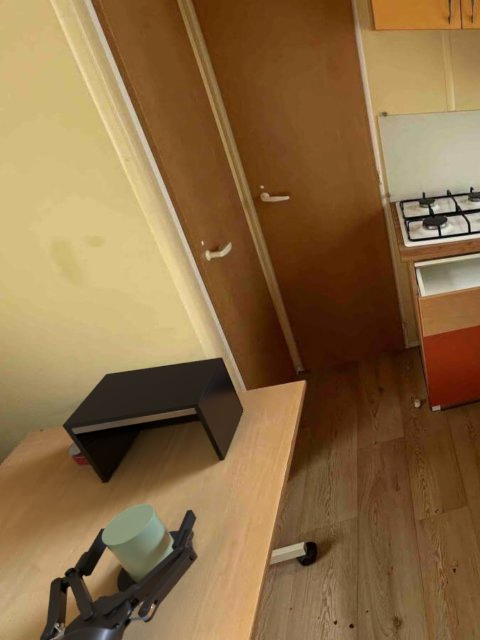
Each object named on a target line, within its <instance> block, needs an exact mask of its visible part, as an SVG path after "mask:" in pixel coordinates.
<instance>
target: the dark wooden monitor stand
mask: <svg viewBox="0 0 480 640" xmlns="http://www.w3.org/2000/svg"><path fill="white" fill-rule="evenodd" d="M243 410H244V407H243V405H242V402H241V399H240V397H239V394H238V392H237V390H236V387H235V385H234V383H233V380H232V378H231V375H230V372H229V371H228V368H227V366H226V363H225V360H224V358H223V357H222V356H221V357H214V358H207V359H199V360H193V361H187V362H179V363H172V364H165V365H159V366H152V367H151V366H150V367H145V368H139V369H138V368H137V369H132V370H130V369H129V370H125V371H118V372H110V373H106V374H105V375H104V376H103V377H102V378H101V379H100V381H99V382H98V383H97V384H96V385H95V387H94V388H93V389H92V390H90V392H89V393H88V395H87V396H86V397H85V398H84V399H83V401H82V402H80V404H79V406H77V407H76V409H75V410H74V411H73V412H72V413H71V415H70V416H69V417H68V418H67V419H66V420H65V422H64V423H63V424H62V427H63V429H64V431H66V433H67V434H68V435H69V437H70V438H71V440H72V441H73V442H74V443H75V444H76V446H77V447H78V448H79V450H80V451H81V453H82V454H83V455H84V457H85V458H86V460H87V461H88V463H89V464H90V465H89V466H90V467H91V469H92V470H93V471H94V472H95V474H96V475H97V477H98V478H99V480H100V481H101V483H102V484H105V483H109V482H110V480H111V478H112V476H113V475H114V474H115V472H116V471H117V469H118V467H119V466H120V464H121V463H122V461H123V460H124V458H125V456H126V455H127V453H128V451H129V450H130V449H131V447H132V446H133V444H134V442H135V441H136V439H137V438H138V436H139V434H140V433H141V432H142V431H143V432H144V431H148V430H153V429H154V430H156V429H160V428H166V427H171V426H177V425H184V424H189V423H196V422H200V424H201V425H202V427H203V429H204V431H205V433H206V435H207V437H208V439H209V441H210V443H211V445H212V448H213V449H214V452H215V454H216V456H217V458H218V460H219V461H225V460H226V457H227V454H228V452H229V449H230V447H231V444H232V441H233V440H234V437H235V434H236V432H237V429H238V427H239V424H240V422H241V419H242V417H243V414H244V412H243ZM244 411H245V410H244ZM242 413H243V414H242ZM241 416H242V417H241ZM240 418H241V419H240Z"/></svg>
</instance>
